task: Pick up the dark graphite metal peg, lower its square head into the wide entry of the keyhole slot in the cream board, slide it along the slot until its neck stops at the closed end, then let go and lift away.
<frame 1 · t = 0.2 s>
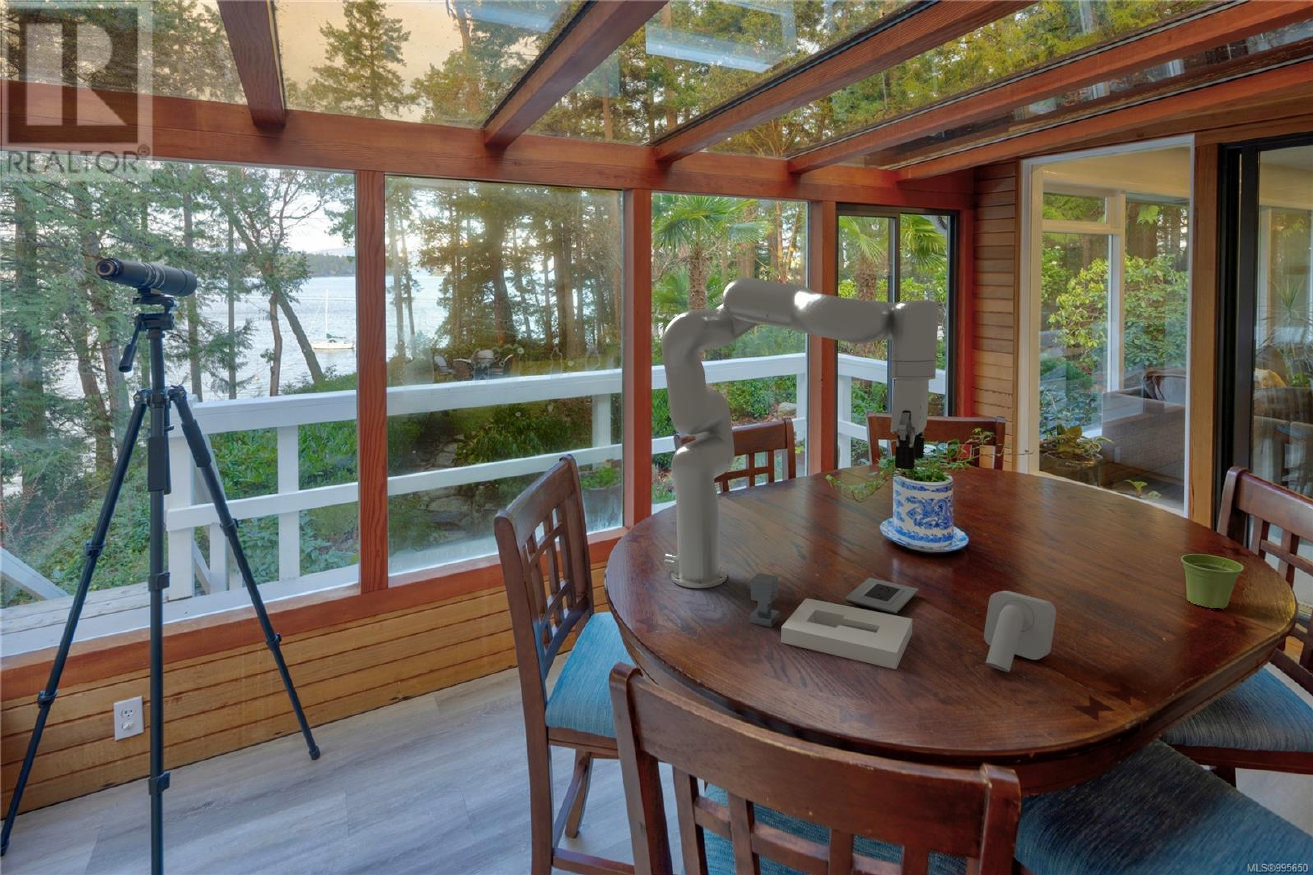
hand: (909, 463, 122), 31 cm above the table, fingers open, 9 cm apart
keyhole peg: (764, 620, 129), on the table
electrical outlet: (881, 604, 136), on the table
keyhole plate: (846, 638, 121), on the table
wall hook: (1009, 661, 112), on the table
plant pot: (1206, 605, 130), on the table
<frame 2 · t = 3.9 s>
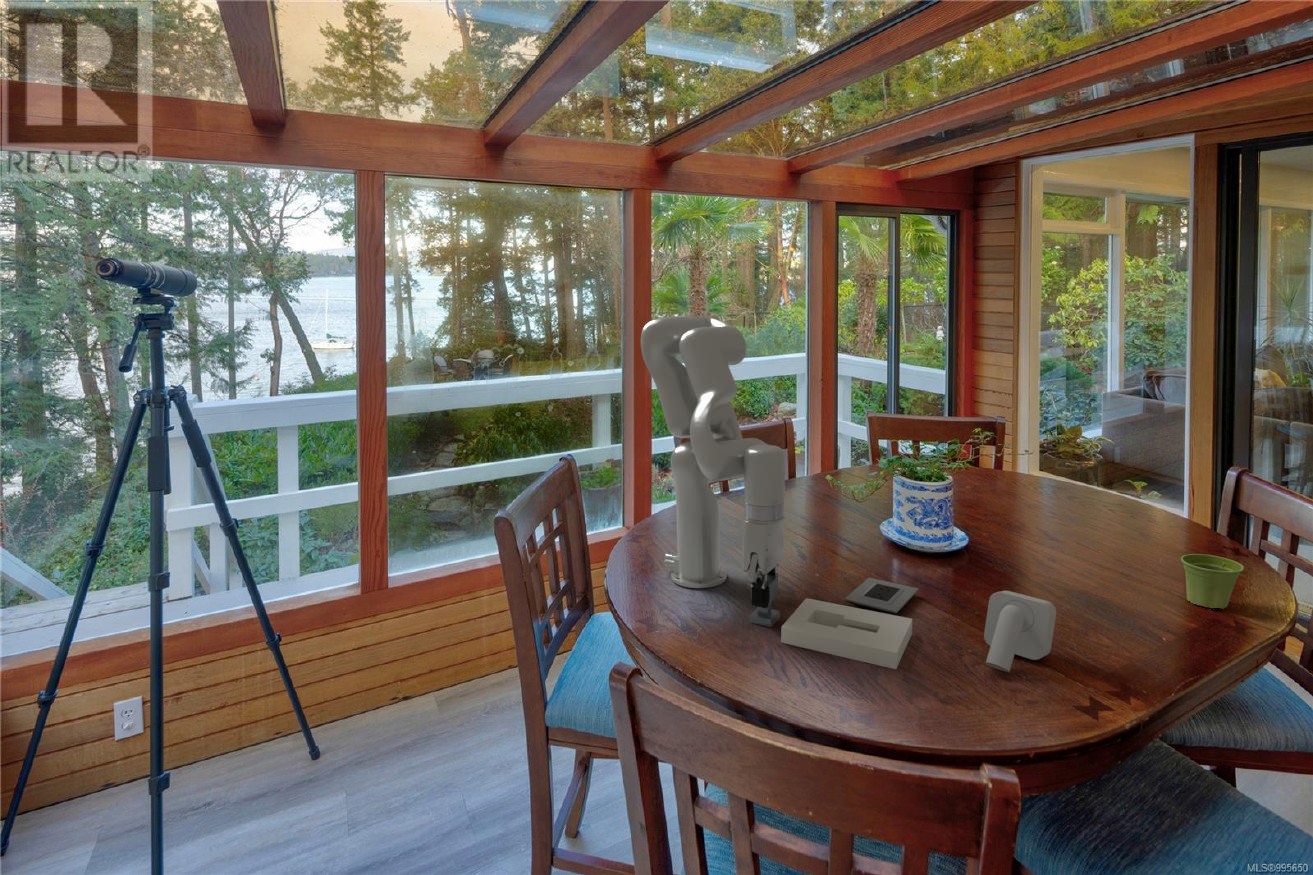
hand: (764, 600, 128), 4 cm above the table, fingers closed on keyhole peg, 4 cm apart
keyhole peg: (764, 620, 129), on the table, touching gripper
everything else where it was.
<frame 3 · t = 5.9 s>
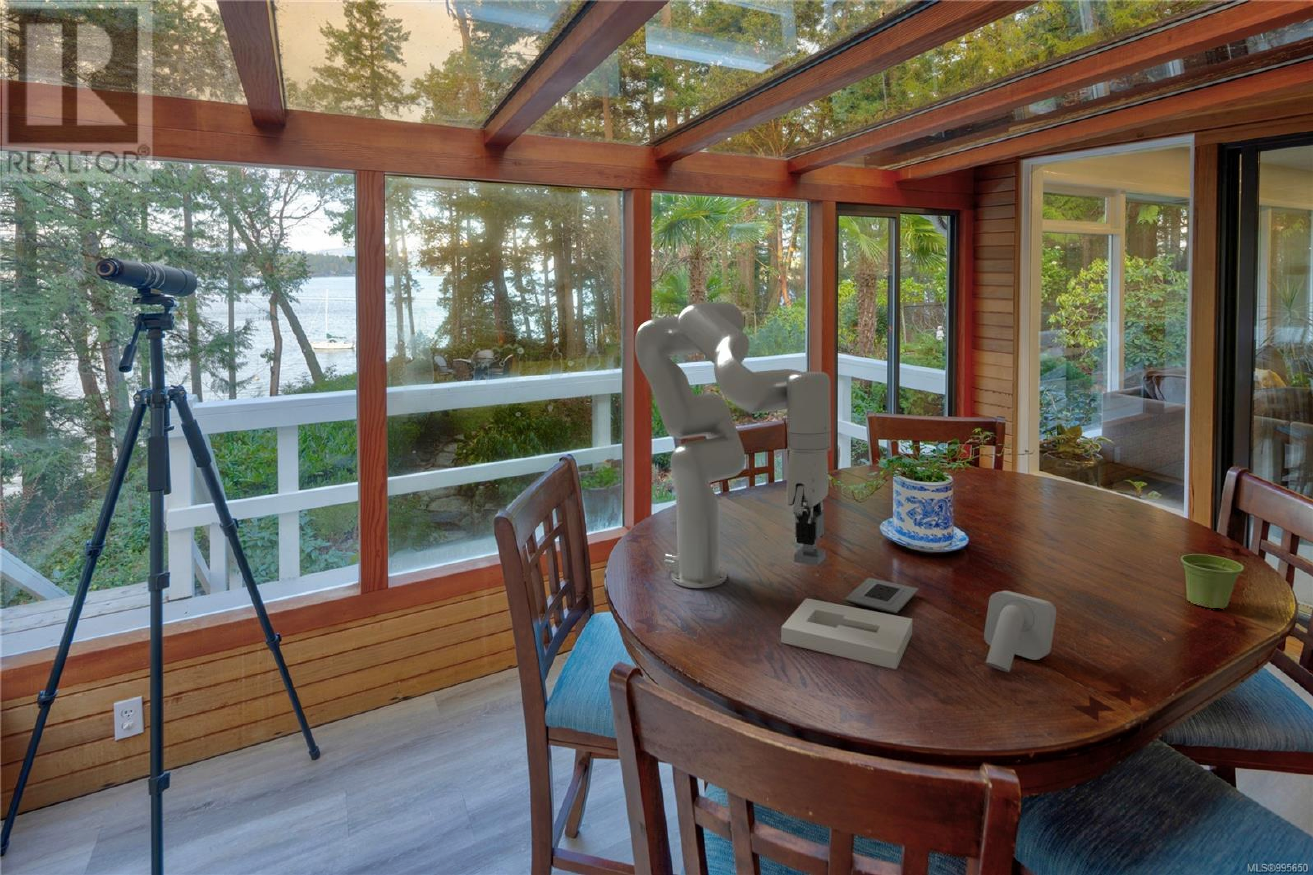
hand: (809, 538, 121), 18 cm above the table, fingers closed on keyhole peg, 4 cm apart
keyhole peg: (810, 560, 122), point 14 cm above the table, touching gripper
everything else where it was.
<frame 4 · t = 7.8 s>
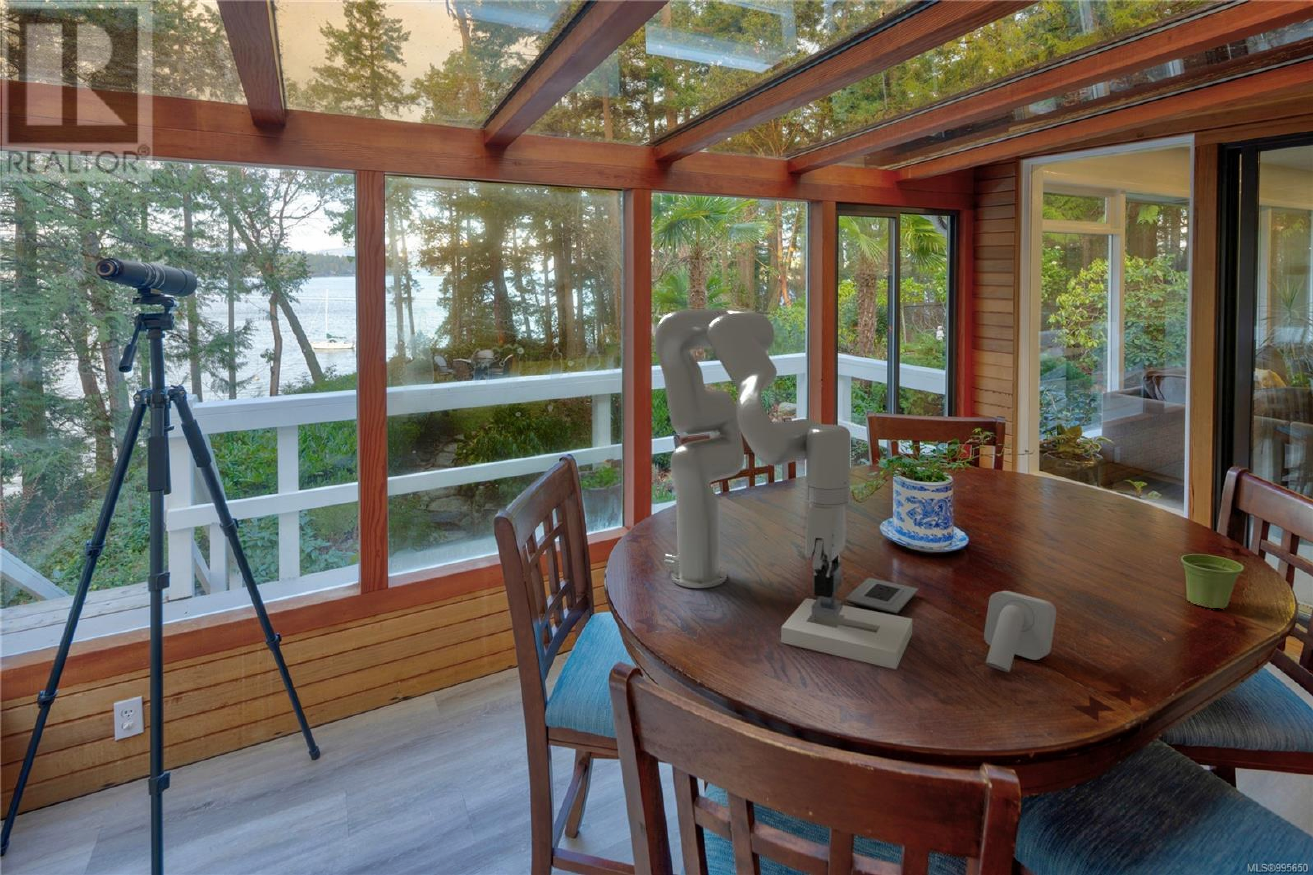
hand: (827, 590, 121), 9 cm above the table, fingers closed on keyhole peg, 4 cm apart
keyhole peg: (827, 610, 122), point 5 cm above the table, touching gripper
everything else where it was.
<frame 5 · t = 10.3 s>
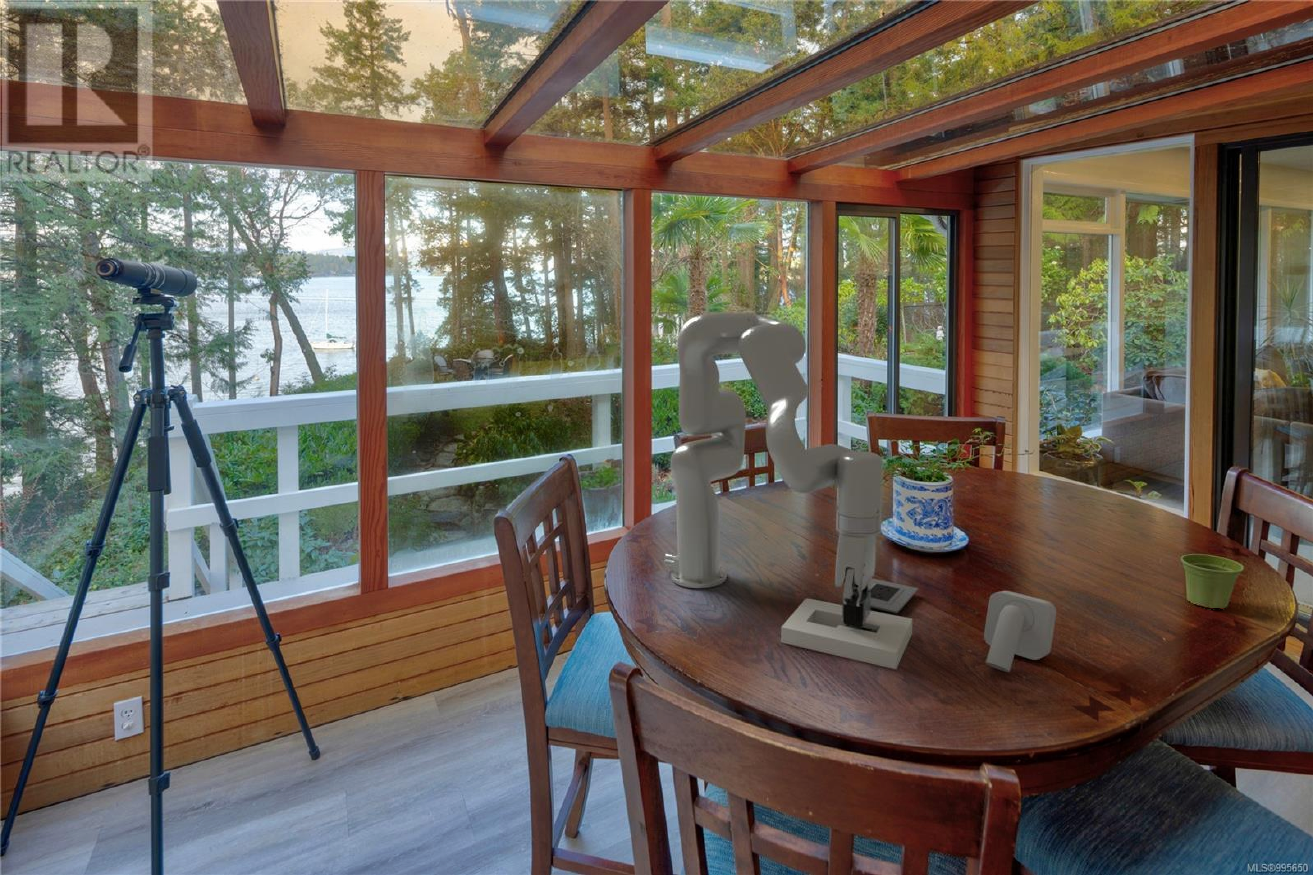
hand: (856, 618, 119), 4 cm above the table, fingers closed on keyhole peg, 4 cm apart
keyhole peg: (855, 639, 120), resting in keyhole plate, touching gripper
everything else where it was.
when the fingers open (4 cm above the table, at t = 12.0 s): keyhole peg stays where it is, resting in keyhole plate.
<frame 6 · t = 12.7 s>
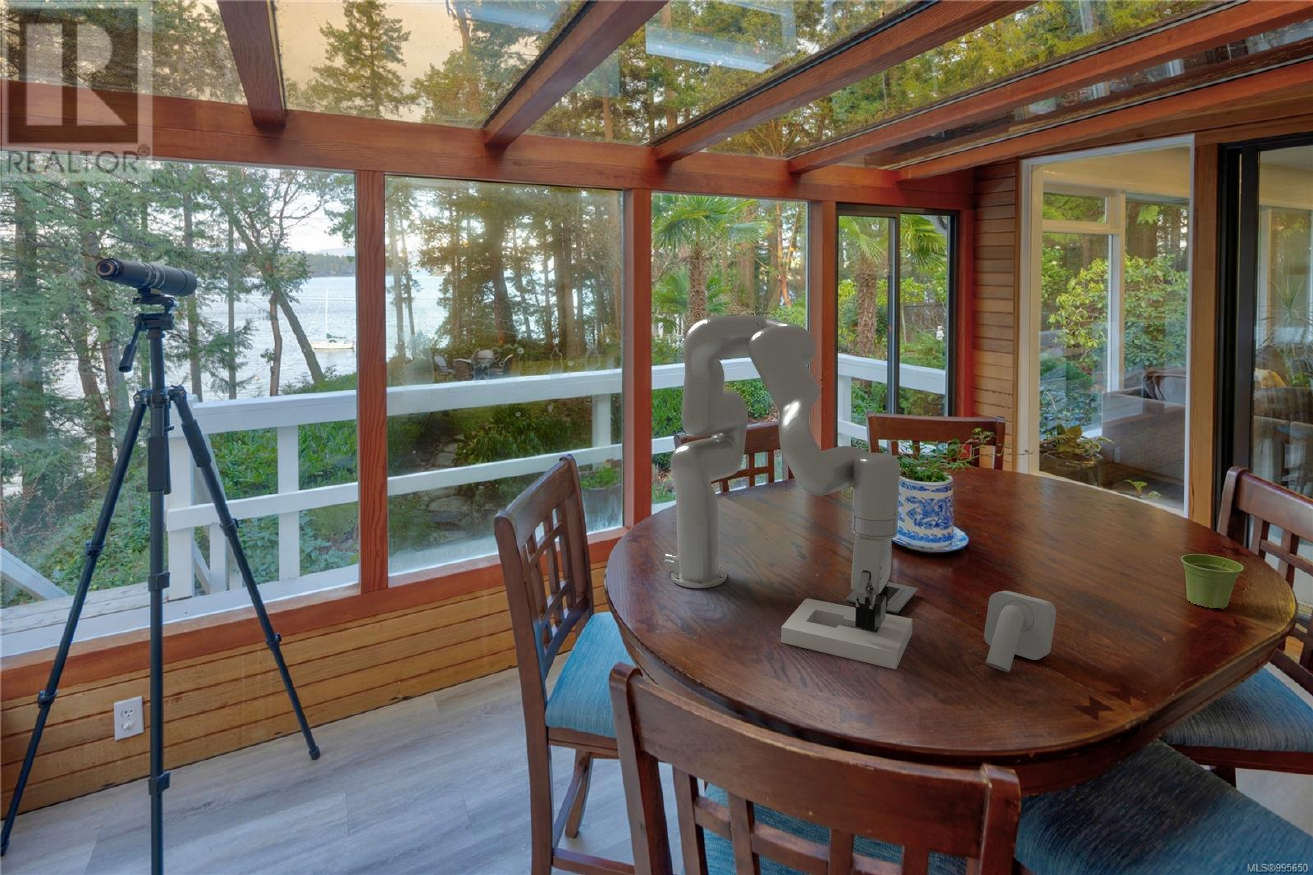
hand: (871, 617, 118), 5 cm above the table, fingers open, 9 cm apart
keyhole peg: (870, 643, 119), resting in keyhole plate
everything else where it was.
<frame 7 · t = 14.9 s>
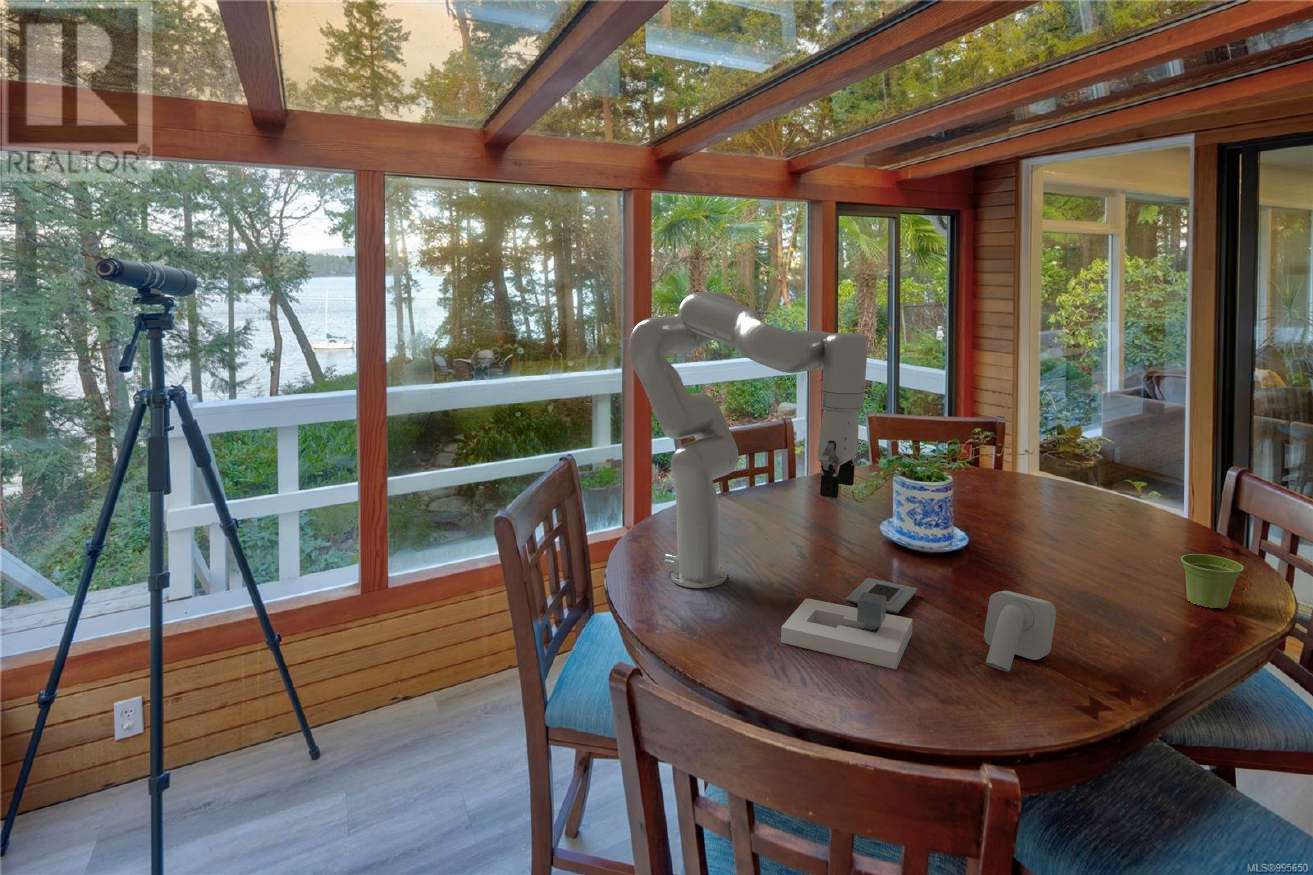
hand: (837, 490, 125), 25 cm above the table, fingers open, 9 cm apart
nothing on the table moved.
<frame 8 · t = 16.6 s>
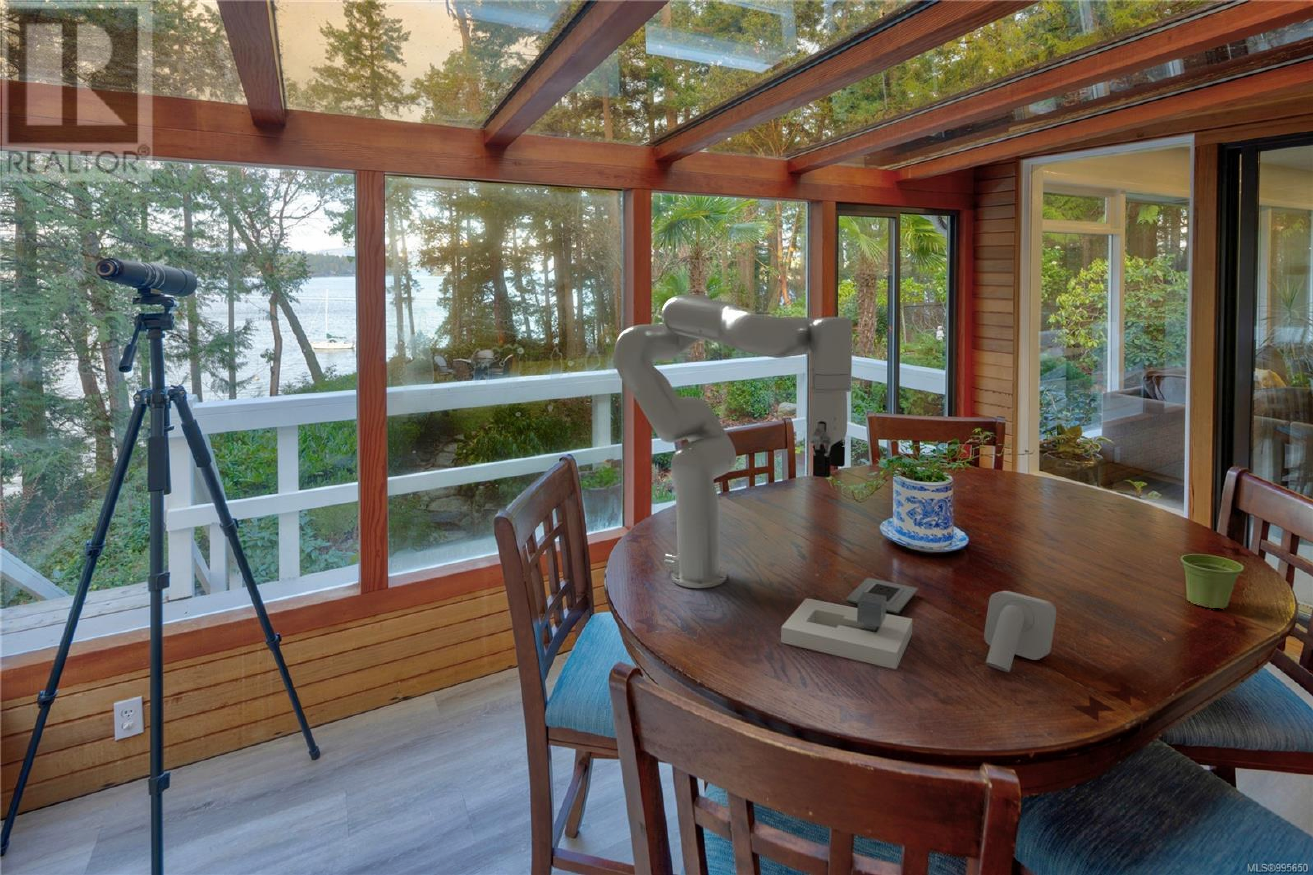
hand: (829, 471, 129), 28 cm above the table, fingers open, 9 cm apart
nothing on the table moved.
at the end: keyhole peg 0.0 cm from the target spot on the keyhole plate, point 0.0 cm above the keyhole plate's base; keyhole peg tilted 0°; the gripper is holding nothing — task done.
